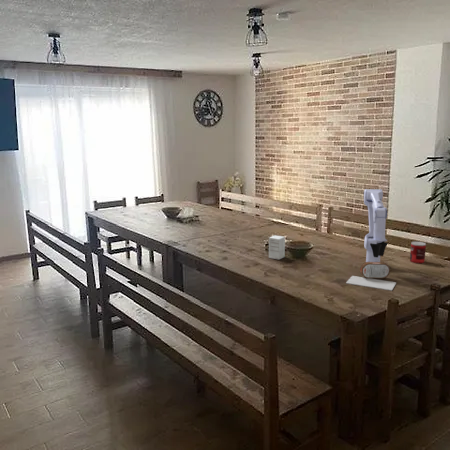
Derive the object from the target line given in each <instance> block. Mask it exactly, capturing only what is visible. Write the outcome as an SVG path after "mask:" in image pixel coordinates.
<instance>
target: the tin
mask: <svg viewBox="0 0 450 450" xmlns="http://www.w3.org/2000/svg"><path fill="white" fill-rule="evenodd" d="M359 272H360V274H361V276H362V277H364V278H370V279H378V280H383V279H386V278H387V277H388V276H389V275H390V272H391V269H390V266H389V265H388V264H387V263H386V262H382V261H380V262H366V261H365V262H364V263H362V264H361V265H360V268H359Z"/></svg>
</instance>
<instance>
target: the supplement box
mask: <svg viewBox="0 0 450 450" xmlns="http://www.w3.org/2000/svg"><path fill="white" fill-rule="evenodd" d="M285 241H286V236H282V235H272V236H270V237H268V259H269V258H270V259H273V260H274V259H275V260H281V259H283V258H285V253H286V252H285V249H286V246H285V245H286V242H285Z"/></svg>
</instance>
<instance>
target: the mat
mask: <svg viewBox="0 0 450 450" xmlns="http://www.w3.org/2000/svg"><path fill="white" fill-rule="evenodd" d="M345 283H346V284H348V285H355V286H360V287H366V288H372V289H378V290H385V291H390V292H392V291H393V290H394V288H395V286H396V285H397V282H395V281H390V280H383V279H378V278H365V277H364V276H356V275H351V276H350V277H349V278H348V280H346V282H345Z"/></svg>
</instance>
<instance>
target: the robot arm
mask: <svg viewBox="0 0 450 450" xmlns="http://www.w3.org/2000/svg"><path fill="white" fill-rule="evenodd" d="M383 196H384V193H383V189H382V188H381V189H375V188H370V189H367V188H365V189H364V190H363V204H364V205H365V206H366V207H367V211H368V212H367V213H368V231H369V232H368V233H367V234H365V236H364V243H363V245H364V246H363V247H364V249H365V250H366V256H365V257H366V258H365V262H381V257H384V254H385V251H386V248H387V246H388V244H389V243H388V239H386V223H387V222H386V220H387V217H388V209H387V207H385V205H384V203H383Z"/></svg>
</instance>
